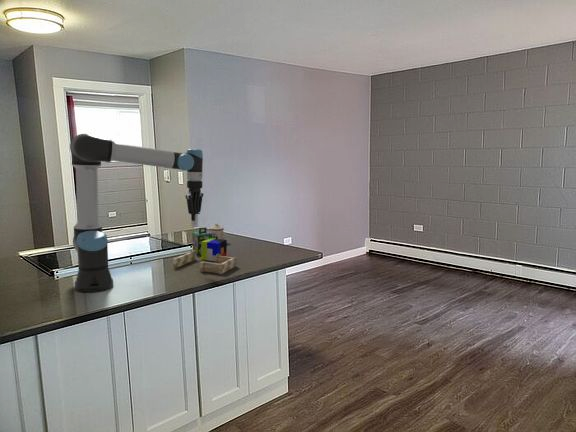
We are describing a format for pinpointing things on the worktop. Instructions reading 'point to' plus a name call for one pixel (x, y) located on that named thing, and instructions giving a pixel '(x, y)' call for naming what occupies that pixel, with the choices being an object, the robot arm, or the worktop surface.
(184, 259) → the beige low frame piece
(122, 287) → the worktop surface
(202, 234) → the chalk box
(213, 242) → the puzzle toy
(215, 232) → the teacup with lid
